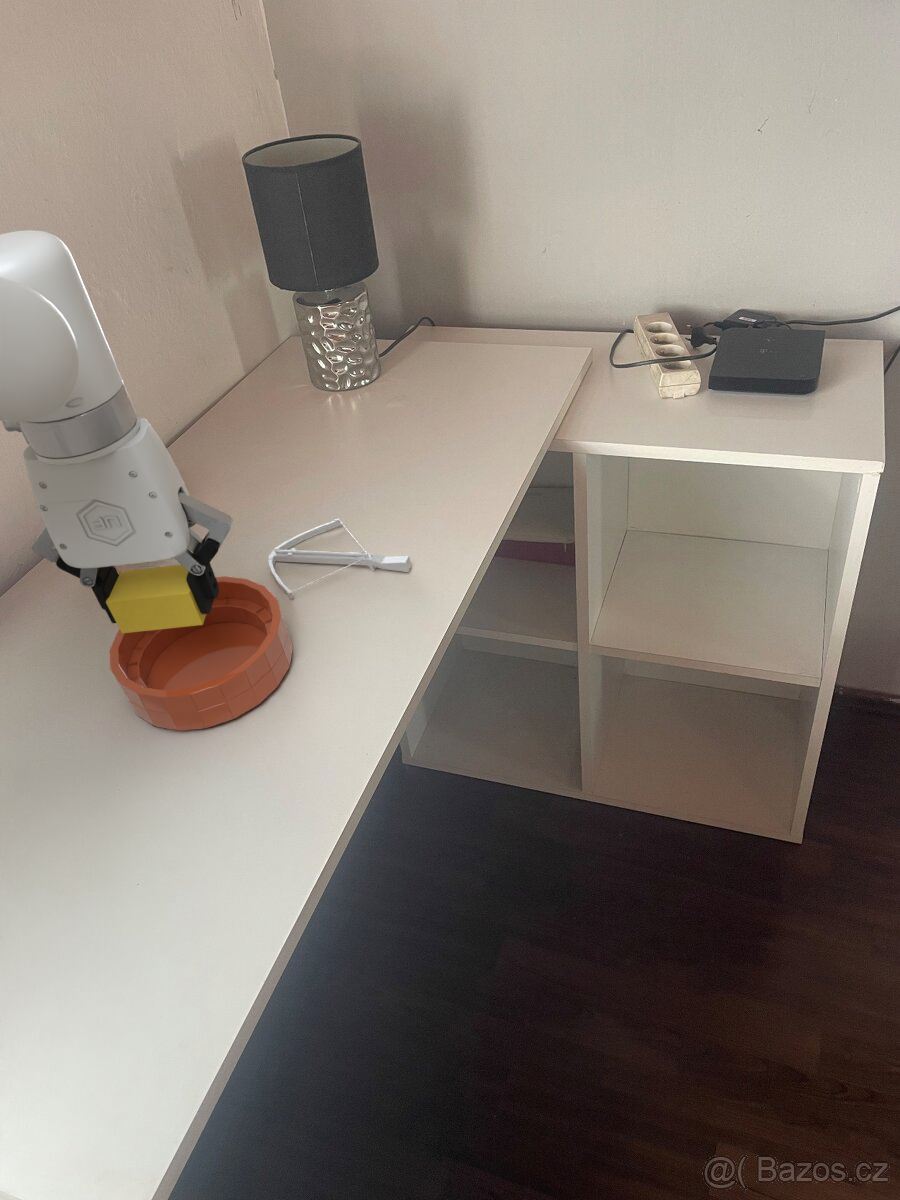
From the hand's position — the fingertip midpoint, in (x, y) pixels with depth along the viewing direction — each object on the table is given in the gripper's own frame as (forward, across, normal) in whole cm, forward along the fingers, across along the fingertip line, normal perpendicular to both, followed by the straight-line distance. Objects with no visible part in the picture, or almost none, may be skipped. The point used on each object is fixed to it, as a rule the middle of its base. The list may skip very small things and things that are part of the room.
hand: (165, 606), depth 73 cm
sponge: (+1, 0, 0) cm, 1 cm away
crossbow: (+11, +11, +17) cm, 23 cm away
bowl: (+11, 0, +3) cm, 11 cm away
